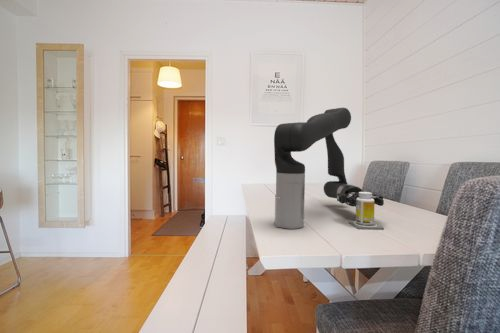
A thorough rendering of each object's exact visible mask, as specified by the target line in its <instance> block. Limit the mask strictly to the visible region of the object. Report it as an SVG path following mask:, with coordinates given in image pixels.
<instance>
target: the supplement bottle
mask: <svg viewBox="0 0 500 333" xmlns="http://www.w3.org/2000/svg"><path fill="white" fill-rule="evenodd" d="M372 194H373V193H372V192H369V191H363V192H359V195H358V196H359V198H357V199H356V206H355V221H356V222H357V223H358V224H362V225H372V224H374V223H375V204H374V199H372Z"/></svg>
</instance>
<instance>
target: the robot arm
mask: <svg viewBox="0 0 500 333" xmlns="http://www.w3.org/2000/svg"><path fill="white" fill-rule="evenodd" d="M351 121H352V113H351V112H350V110H349V109H348V108H347V107H337V108H331V109H325V111H324V112H323V113H318V114H315V115H313V116H311V117H310V118H308V119H307V121H306V122H287V123H280V124H278V125H277V126H276V128H275V130H274V135H273V136H274V137H273V143H274V145H273V146H274V148H273V149H274V164H275V170H276V172H275V174H276V176H275V177H276V178H275V181H276V182H275V196H274V197H275V198H274V199H275V200H274V224H275V227H276V228H282V229H290V230H291V229H292V230H293V229H294V230H296V229H301V228H303V227H304V226H305V191H306V188H305V186H306V184H305V183H306V181H305V179H306V166H305V164H304V163H302V162H300V161H298V160H296V159H294V157H292V152H293V153H294V152H296V153H298V152H305V151H306V150H308V149H309V148H310V147H312V146H313V145H314V144H315V143H317V142H318V141H320V140H322V139H325V144H326V145H325V146H326V152H327V153H326V154H327V174H328V175H329V176H333V177H336V178H337V179H338V180H336V181H335V180H333V181H332V180H330V181H326V182H325V183H324V185H323V193H324V194H325V196H327V197H328V198H330V199H331V198H332V199H336V201H337V202H339V203H341V204H346V205H348V206H349V207H356V199H357V198H359V196H358V195H359V192H364V191H363V190H362V188H361V187H359V186H356V185H353V184H349V183H348V182H347V177H346V173H345V156H344V153H343V151H342V150H341V148H340V146H339V144H338V143H337V141H336V140H335V137H334V133H335V132H337V131H339V130H344V129H346V128H348V127H349V126H350V125H351ZM372 199H374V205H377V206H380V207H381V206H382V207H383V206H384V205H385V204H384V196H382V195H380V194H379V195H378V194H375V193H372Z"/></svg>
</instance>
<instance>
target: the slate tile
mask: <svg viewBox="0 0 500 333" xmlns="http://www.w3.org/2000/svg"><path fill="white" fill-rule="evenodd" d="M347 221H348V223H349V224H351V226H353V227H354V228H356V229H357V230H382V231H384V227H383V226H382V225H380V224H378V223H377V222H374V224H372V225H362V224H358V223H357V222H356V220H347Z"/></svg>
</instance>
